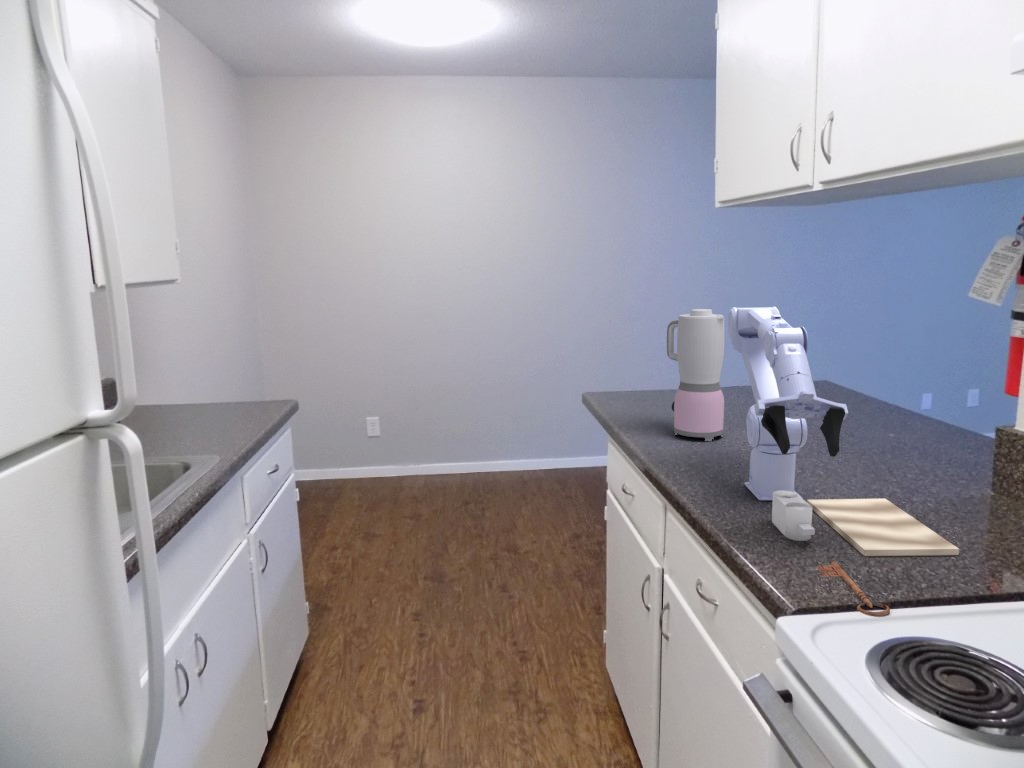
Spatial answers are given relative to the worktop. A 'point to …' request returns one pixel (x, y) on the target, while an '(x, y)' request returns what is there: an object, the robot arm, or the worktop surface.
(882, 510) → the pad
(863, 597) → the key
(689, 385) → the blender
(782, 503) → the plug
